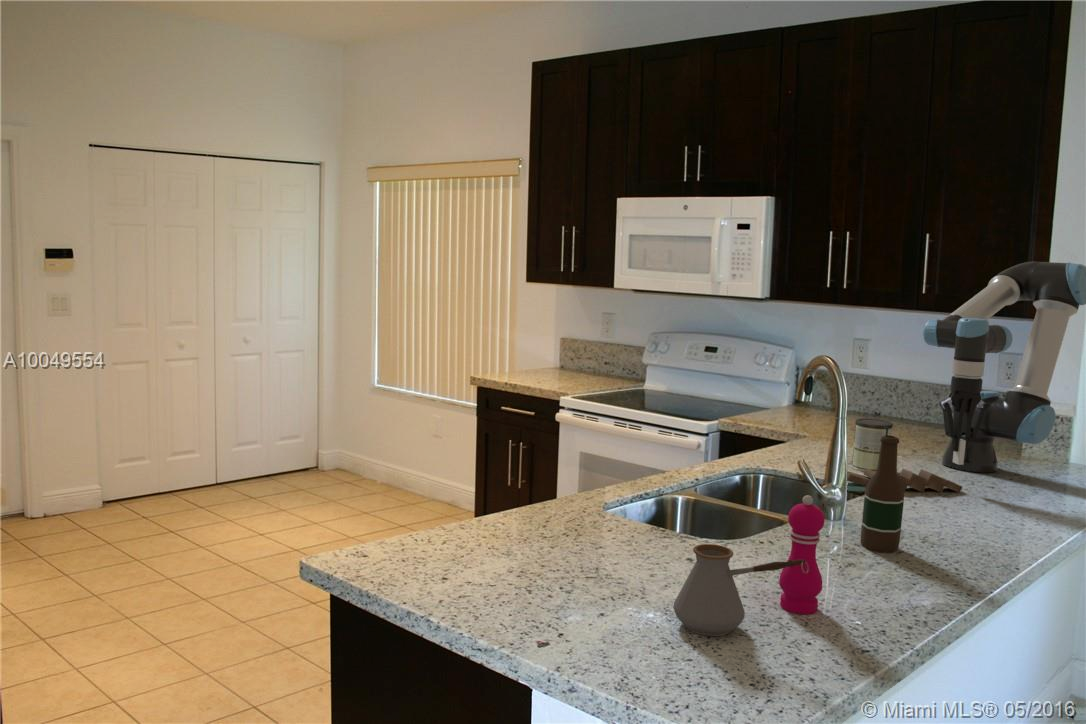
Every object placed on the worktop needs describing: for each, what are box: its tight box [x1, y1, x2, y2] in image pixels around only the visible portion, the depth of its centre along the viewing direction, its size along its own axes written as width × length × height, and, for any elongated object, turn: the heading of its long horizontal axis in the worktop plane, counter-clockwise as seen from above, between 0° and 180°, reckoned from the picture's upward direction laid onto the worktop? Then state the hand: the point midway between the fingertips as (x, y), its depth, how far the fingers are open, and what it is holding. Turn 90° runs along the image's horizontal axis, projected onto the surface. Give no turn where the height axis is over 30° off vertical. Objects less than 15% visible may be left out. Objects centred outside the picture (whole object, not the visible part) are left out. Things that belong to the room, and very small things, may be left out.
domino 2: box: [847, 481, 866, 492], centre depth 242 cm, size 2×5×10 cm
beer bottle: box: [860, 435, 905, 554], centre depth 192 cm, size 8×8×24 cm
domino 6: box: [917, 468, 963, 493], centre depth 244 cm, size 2×5×10 cm
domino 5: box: [900, 468, 945, 493], centre depth 244 cm, size 2×5×10 cm
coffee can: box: [851, 417, 894, 473], centre depth 264 cm, size 10×10×14 cm
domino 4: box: [897, 473, 927, 493], centre depth 243 cm, size 2×5×10 cm
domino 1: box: [846, 470, 871, 486], centre depth 242 cm, size 2×5×10 cm
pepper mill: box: [778, 494, 825, 615], centre depth 157 cm, size 7×7×20 cm
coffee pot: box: [672, 543, 809, 637], centre depth 145 cm, size 21×12×15 cm, turn 53°
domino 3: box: [863, 468, 908, 493], centre depth 242 cm, size 2×5×10 cm
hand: (957, 463), depth 244 cm, fingers closed
